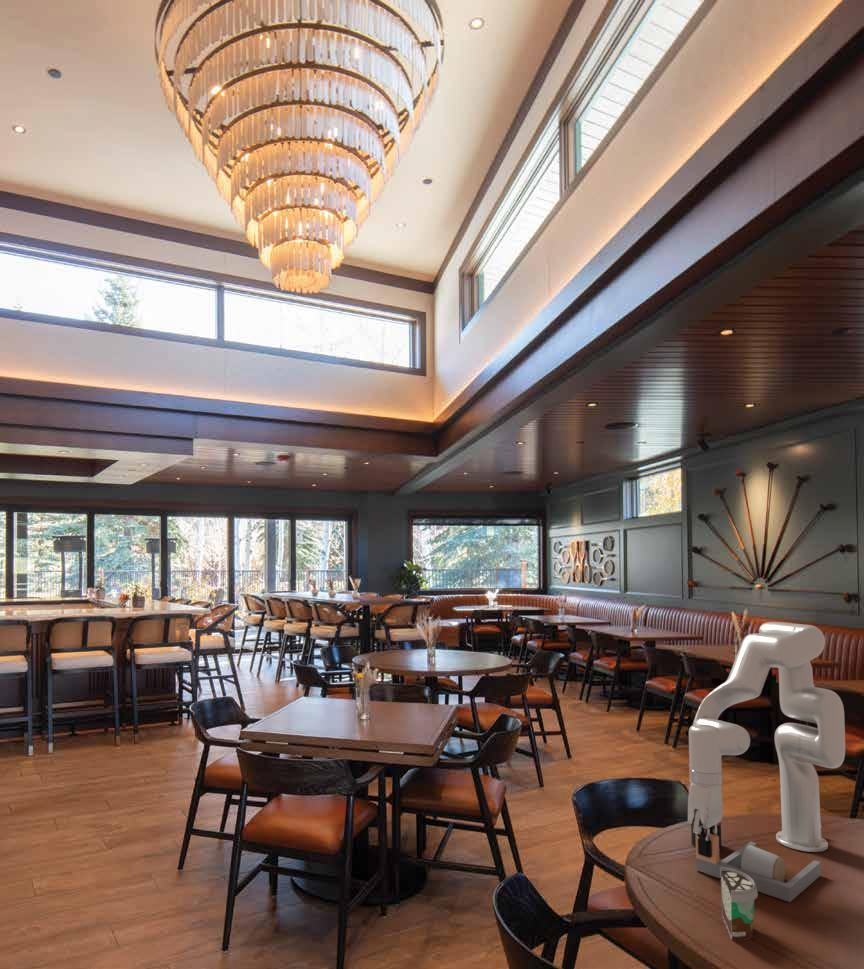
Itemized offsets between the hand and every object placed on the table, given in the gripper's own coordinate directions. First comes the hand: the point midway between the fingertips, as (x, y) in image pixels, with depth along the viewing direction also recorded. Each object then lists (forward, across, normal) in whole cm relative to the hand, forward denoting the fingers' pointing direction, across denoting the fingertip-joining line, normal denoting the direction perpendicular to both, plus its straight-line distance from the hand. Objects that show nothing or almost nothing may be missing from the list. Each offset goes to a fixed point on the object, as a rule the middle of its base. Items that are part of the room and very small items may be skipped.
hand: (707, 853), depth 175 cm
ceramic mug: (+5, -6, +11) cm, 14 cm away
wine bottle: (+5, -16, -8) cm, 19 cm away
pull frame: (+4, -9, +9) cm, 13 cm away
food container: (+5, +21, +17) cm, 27 cm away
